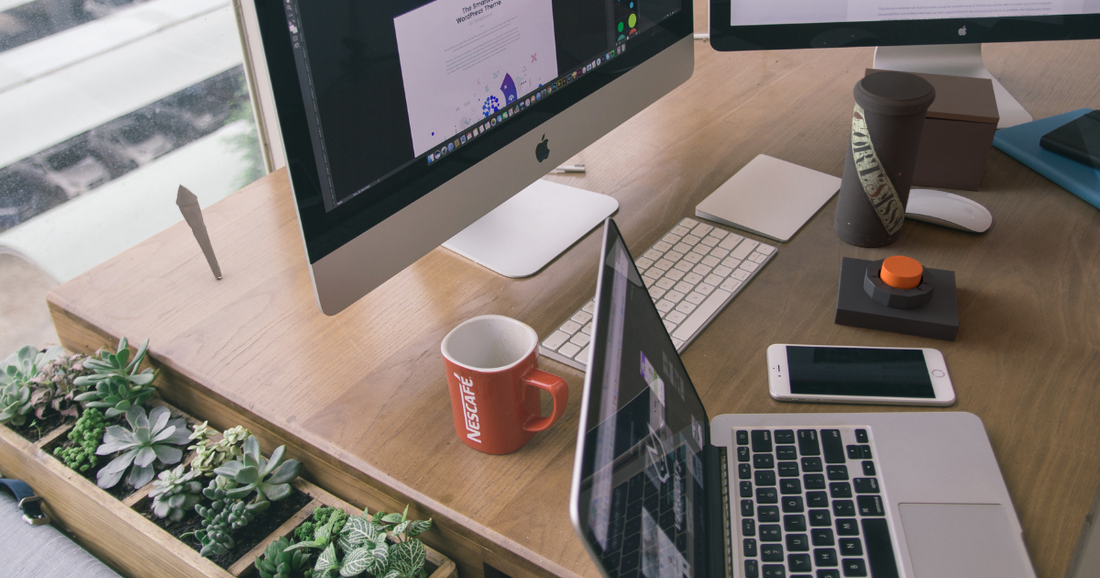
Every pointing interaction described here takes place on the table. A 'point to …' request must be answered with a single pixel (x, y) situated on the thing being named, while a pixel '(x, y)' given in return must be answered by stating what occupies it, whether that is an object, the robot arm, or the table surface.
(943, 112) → the brown piece
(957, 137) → the brown box
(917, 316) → the dark grey button base
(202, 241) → the grey arrowhead stake
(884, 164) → the container
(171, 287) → the table surface
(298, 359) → the table surface
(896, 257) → the button
